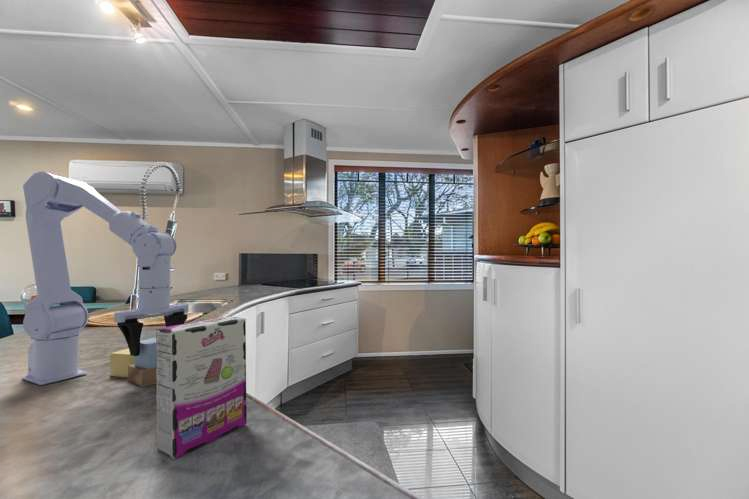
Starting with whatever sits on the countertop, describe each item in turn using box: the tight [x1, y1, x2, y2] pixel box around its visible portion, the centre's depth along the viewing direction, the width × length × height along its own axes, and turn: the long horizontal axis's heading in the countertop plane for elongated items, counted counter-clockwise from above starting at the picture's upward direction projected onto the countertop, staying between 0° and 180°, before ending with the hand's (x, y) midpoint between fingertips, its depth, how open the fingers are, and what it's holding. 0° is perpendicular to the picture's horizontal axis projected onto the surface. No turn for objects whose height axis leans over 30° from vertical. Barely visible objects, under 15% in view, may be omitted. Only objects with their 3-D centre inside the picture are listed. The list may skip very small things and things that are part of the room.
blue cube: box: [134, 337, 156, 369], centre depth 74 cm, size 5×5×5 cm
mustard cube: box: [109, 347, 134, 378], centre depth 78 cm, size 5×5×5 cm
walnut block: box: [127, 364, 157, 388], centre depth 74 cm, size 7×7×4 cm
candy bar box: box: [155, 315, 247, 460], centre depth 50 cm, size 11×5×16 cm, turn 148°
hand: (153, 350), depth 74 cm, fingers open, 7 cm apart
